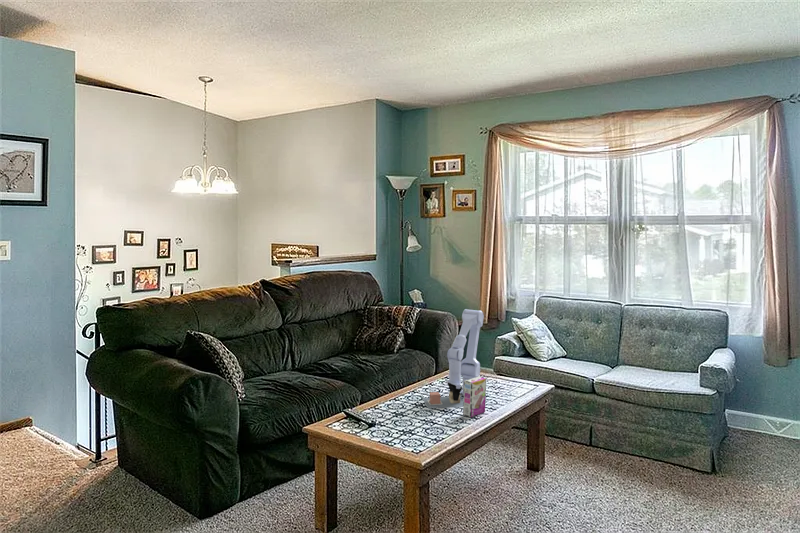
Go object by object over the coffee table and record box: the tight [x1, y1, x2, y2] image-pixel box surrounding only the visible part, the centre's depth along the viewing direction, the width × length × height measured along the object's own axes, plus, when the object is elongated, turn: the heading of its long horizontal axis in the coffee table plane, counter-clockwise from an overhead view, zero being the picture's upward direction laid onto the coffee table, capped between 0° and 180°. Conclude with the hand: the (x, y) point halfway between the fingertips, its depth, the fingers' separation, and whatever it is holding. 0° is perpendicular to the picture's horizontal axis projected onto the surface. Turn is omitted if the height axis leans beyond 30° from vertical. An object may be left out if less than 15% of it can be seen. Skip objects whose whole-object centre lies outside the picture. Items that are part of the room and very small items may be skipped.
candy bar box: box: [462, 376, 487, 418], centre depth 257 cm, size 11×5×16 cm, turn 134°
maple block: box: [448, 391, 461, 403], centre depth 274 cm, size 4×4×4 cm
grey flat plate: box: [421, 396, 464, 409], centre depth 274 cm, size 20×16×1 cm
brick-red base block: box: [429, 391, 441, 404], centre depth 273 cm, size 4×4×4 cm
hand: (454, 398), depth 274 cm, fingers closed on maple block, 4 cm apart
